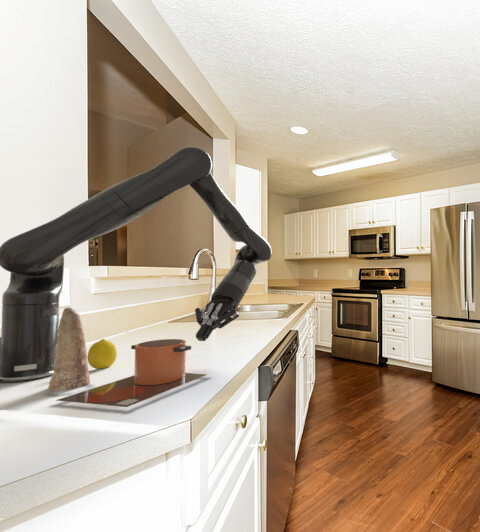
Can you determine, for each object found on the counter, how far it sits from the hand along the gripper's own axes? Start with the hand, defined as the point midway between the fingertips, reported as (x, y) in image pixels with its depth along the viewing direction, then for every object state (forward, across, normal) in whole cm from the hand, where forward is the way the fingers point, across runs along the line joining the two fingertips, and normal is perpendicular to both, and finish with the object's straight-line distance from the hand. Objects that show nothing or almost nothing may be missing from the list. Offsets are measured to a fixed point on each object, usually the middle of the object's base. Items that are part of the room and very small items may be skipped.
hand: (200, 339), depth 89 cm
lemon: (+10, -22, +1) cm, 24 cm away
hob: (+17, 0, -6) cm, 18 cm away
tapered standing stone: (+19, -14, -8) cm, 25 cm away
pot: (+13, 0, -4) cm, 13 cm away
